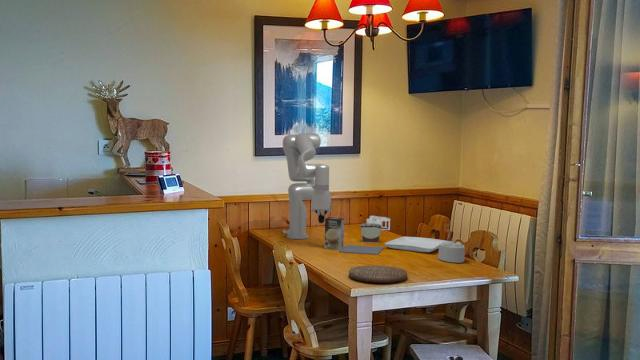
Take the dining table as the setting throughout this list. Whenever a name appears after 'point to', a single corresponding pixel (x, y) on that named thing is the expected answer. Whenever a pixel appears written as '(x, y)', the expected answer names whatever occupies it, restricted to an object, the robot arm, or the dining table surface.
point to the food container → (370, 232)
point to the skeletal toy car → (378, 221)
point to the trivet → (378, 274)
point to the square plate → (415, 244)
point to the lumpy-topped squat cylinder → (452, 252)
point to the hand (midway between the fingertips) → (321, 222)
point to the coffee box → (334, 233)
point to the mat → (361, 249)
